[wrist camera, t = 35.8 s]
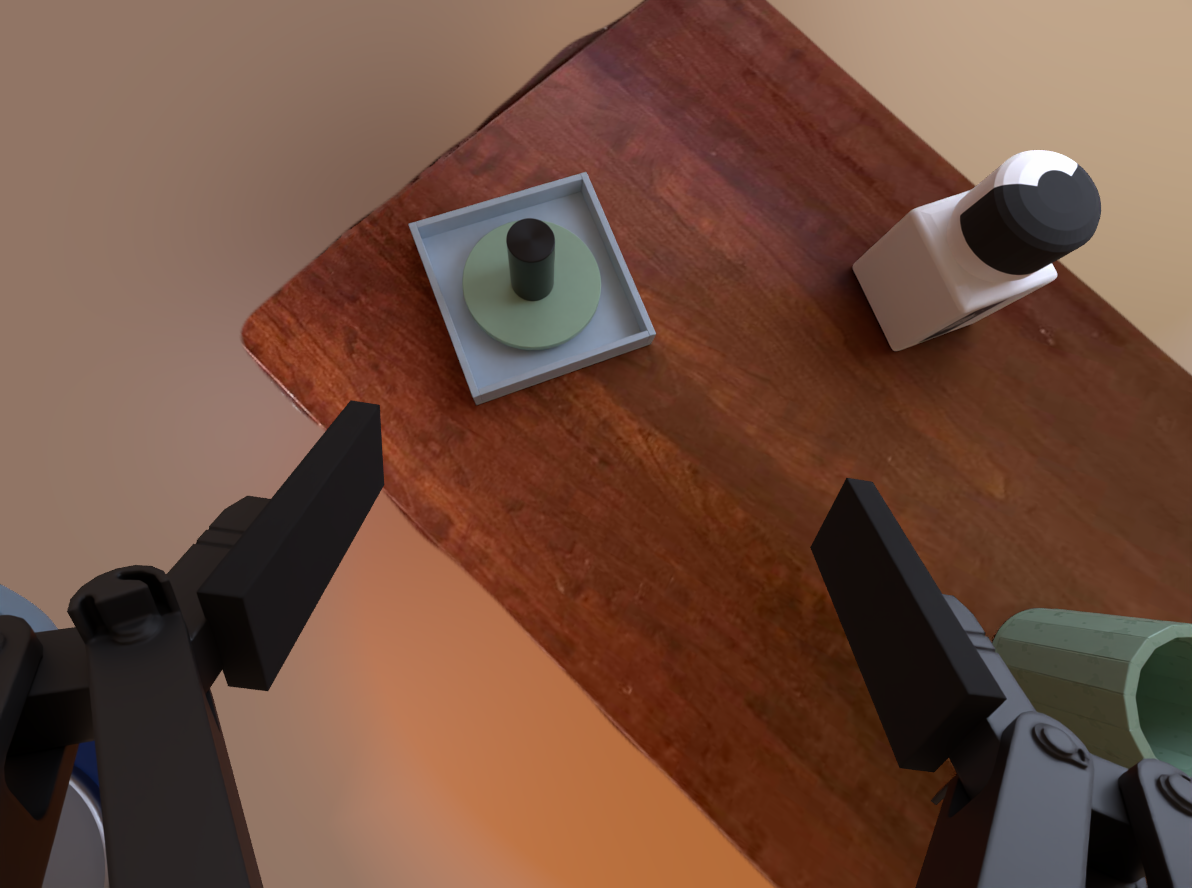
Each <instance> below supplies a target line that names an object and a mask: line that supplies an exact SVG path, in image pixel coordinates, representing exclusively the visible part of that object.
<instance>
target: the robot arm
mask: <svg viewBox="0 0 1192 888" xmlns="http://www.w3.org/2000/svg"><path fill="white" fill-rule="evenodd" d="M383 486H384V474H383V456H382V438H381V421H380V405H377V404H370V403H364V402H358V401H350V402H349V403H348V404H347V406H346V407H345V408H344V409H343V411H342V412H341V413H340V414H339V416H338V417H337V418H336V419H335V420H334V422H333V423H332V424H331V425H330V427H329V428H328V429H327V430H326V432H325V433H324V434H323V436H322V437H321V438H320V439H319V440H318V442H317V443H316V444H315V445H314V446H313V448H312V449H311V450H310V451H309V453H308V454H307V455H306V456H305V458H304V459H303V460H302V461H301V463H300V464H299V465H298V466H297V468H296V469H295V470H294V471H293V472H292V474H291V475H290V476H289V477H288V479H287V480H286V481H285V482H284V484H283V485H282V486H281V488H280V489H279V490H278V491H277V492H276V494H275V495H274V496H273V497H272V499H267V498H260V497H253V496H246V497H245V498H243V499H241V500H239V501H238V502H236V503H234V504H233V505H231V506H229V507H228V508H226V509H225V510H224V511H223V512H222V513H221V514H220V515H219V516H218V517H217V518H216V519H215V521H214V522H213V523H212V524H211V525H210V526H209V530H206V531H205V532H204V533H203V534H202V535H201V536H200V537H199V538H198V540H197V543H196V544H193V545H192V546H191V547H190V548H189V550H188V551H187V552H186V553H185V554H184V555H183V556H182V557H181V559H180V560H179V561H178V562H177V563H176V564H175V566H173V568H172V569H171V570H170V571H169V572H168V573H167V574H165V573H164V571H162V570H160V569H157V568H155V567H153V566H142V565H133V566H128V567H123V568H117V569H115V570H112V571H109V572H107V573H104V574H102V575H99V576H97V577H95V578H94V579H92V580H91V581H89V582H88V583H86V584H85V585H84V586H82V587H81V588H80V589H79V590H78V591H77V592H76V594H75V595H74V596H73V597H72V598H71V599H70V603H69V607H68V611H67V612H68V614H69V616H70V618H71V619H72V621H73V623H74V625H75V627H74V628H66V629H57V627H56V626H55V624H54V623H53V622H52V621H51V619H50V618H49V617H48V616H47V615H46V614H45V613H44V612H43V611H41V610H40V609H39V608H38V607H37V606H35V605H34V604H33V603H31V602H29V601H28V600H27V599H25V598H24V597H22V596H20V595H19V594H17V593H16V592H14V591H12V590H10V589H8V588H7V587H5V586H3V585H1V584H0V888H263V885H262V881H261V877H260V874H259V870H258V866H257V862H256V858H255V855H254V851H253V847H252V843H251V839H250V835H249V832H248V828H247V824H246V820H245V817H244V813H243V809H242V805H241V801H240V798H239V794H238V790H237V786H236V783H235V779H234V775H233V771H232V767H231V764H230V760H229V757H228V752H227V748H226V745H225V741H224V738H223V734H222V730H221V726H220V722H219V718H218V714H217V711H216V707H215V703H214V699H213V696H212V693H211V690H210V687H211V686H212V684H213V683H214V681H215V680H216V678H217V676H218V675H219V674H220V672H221V671H222V670H223V672H224V675H225V678H226V681H227V684H228V686H230V687H239V688H247V689H255V690H263V691H268V690H269V689H270V687H271V685H272V683H273V681H274V680H275V678H276V676H277V674H278V673H279V671H280V669H281V667H282V666H283V664H284V662H285V660H286V658H287V657H288V655H289V653H290V651H291V649H292V648H293V646H294V644H295V642H296V641H297V639H298V637H299V635H300V633H301V632H302V630H303V628H304V626H305V625H306V623H307V621H308V619H309V617H310V616H311V613H312V612H313V610H314V609H315V607H316V605H317V603H318V601H319V600H320V598H321V596H322V594H323V592H324V590H325V589H326V587H327V585H328V584H329V582H330V580H331V578H332V576H333V575H334V573H335V571H336V569H337V568H338V566H339V564H340V562H341V560H342V559H343V557H344V555H345V553H346V552H347V550H348V548H349V546H350V545H351V543H352V541H353V539H354V537H355V536H356V534H357V532H358V530H359V529H360V527H361V525H362V523H363V521H364V520H365V518H366V516H367V514H368V513H369V511H370V509H371V507H372V505H373V504H374V502H375V500H376V498H377V497H378V495H379V493H380V491H381V489H382V488H383ZM810 548H811V550H812V553H813V555H814V557H815V560H816V562H817V565H818V567H819V570H820V572H821V575H822V577H823V580H824V582H825V585H826V587H827V590H828V592H829V594H830V597H831V599H832V602H833V604H834V607H835V609H836V612H837V614H838V617H839V619H840V622H841V624H842V627H843V629H844V631H845V634H846V636H847V639H848V641H849V644H850V646H851V649H852V651H853V654H854V656H855V659H856V661H857V664H858V666H859V668H860V671H861V673H862V676H863V678H864V681H865V683H866V686H867V688H868V691H869V693H870V696H871V698H872V701H873V703H874V705H875V708H876V710H877V713H878V715H879V718H880V720H881V723H882V725H883V728H884V730H885V733H886V735H887V738H888V740H889V742H890V745H891V747H892V750H893V752H894V755H895V757H896V760H897V762H898V765H899V767H900V768H903V769H912V770H920V771H928V772H935V771H936V770H937V769H938V768H939V767H940V766H941V765H942V764H943V763H944V762H945V761H946V760H947V759H948V758H950V760H951V762H952V764H953V766H954V768H955V770H956V772H957V775H956V776H955V777H954V778H952V779H951V780H950V781H949V782H948V783H947V784H946V785H945V786H944V787H943V788H942V789H941V790H940V791H939V792H938V793H937V794H936V795H935V796H934V797H933V799H932V800H931V801H932V802H933V803H934V804H936V805H937V804H938V803H939V802H940V801H941V800H942V799H944V801H943V804H942V807H941V810H940V813H939V816H938V819H937V822H936V825H935V829H934V832H933V835H932V838H931V841H930V844H929V847H928V850H927V854H926V857H925V860H924V863H923V866H922V869H921V872H920V875H919V878H918V882H917V885H916V888H1192V778H1191V777H1190V776H1188V775H1187V774H1186V773H1184V772H1183V771H1181V770H1179V769H1178V768H1176V767H1174V766H1172V765H1171V764H1169V763H1166V762H1163V761H1160V760H1158V759H1155V758H1146V759H1142V760H1141V761H1139V762H1138V763H1137V764H1135V765H1134V766H1132V767H1131V768H1130V769H1127V768H1125V767H1122V766H1120V765H1118V764H1115V763H1113V762H1110V761H1108V760H1105V759H1103V758H1101V757H1098V756H1096V755H1093V754H1091V753H1089V751H1088V750H1087V748H1086V746H1085V745H1084V744H1083V743H1082V741H1081V740H1080V739H1079V738H1078V737H1077V736H1076V735H1075V734H1074V733H1073V732H1072V731H1071V730H1070V729H1068V728H1067V727H1066V726H1064V725H1063V724H1062V723H1060V722H1059V721H1057V720H1055V719H1053V718H1052V717H1050V716H1048V715H1046V714H1043V713H1039V712H1037V711H1036V710H1035V708H1034V707H1033V705H1032V704H1031V702H1030V701H1029V699H1028V698H1027V696H1026V695H1025V693H1024V692H1023V690H1022V689H1021V687H1020V686H1019V684H1018V683H1017V681H1016V679H1015V678H1014V676H1013V675H1012V673H1011V672H1010V670H1009V669H1008V667H1007V666H1006V664H1005V663H1004V661H1003V660H1002V658H1001V657H1000V655H999V653H996V652H995V647H994V646H993V644H992V643H991V641H990V640H989V638H988V637H985V632H984V631H983V629H982V627H981V626H980V624H979V623H978V621H977V620H976V618H975V617H974V615H973V614H972V613H971V612H970V611H969V610H968V609H967V608H966V607H965V606H964V605H963V604H962V603H961V602H960V601H958V600H957V599H956V598H955V597H954V596H951V595H945V594H942V593H941V592H940V590H939V588H938V587H937V585H936V583H935V582H934V580H933V579H932V577H931V575H930V574H929V572H928V571H927V569H926V567H925V566H924V564H923V563H922V561H921V559H920V558H919V556H918V554H917V553H916V551H915V550H914V548H913V546H912V545H911V543H910V542H909V540H908V538H907V537H906V535H905V534H904V532H903V530H902V529H901V527H900V525H899V524H898V522H897V521H896V519H895V517H894V516H893V514H892V513H891V511H890V509H889V508H888V506H887V505H886V503H885V501H884V500H883V498H882V496H881V495H880V493H879V492H878V490H877V488H876V487H875V485H874V484H873V482H870V481H864V480H857V479H851V478H846V480H845V482H844V484H843V486H842V488H841V490H840V492H839V494H838V496H837V497H836V499H835V501H834V503H833V505H832V507H831V509H830V511H829V513H828V515H827V517H826V519H825V520H824V522H823V524H822V526H821V528H820V530H819V532H818V534H817V536H816V538H815V540H814V542H813V543H812V545H811V547H810ZM90 741H95V750H96V759H97V769H98V779H99V787H98V785H97V784H96V783H95V782H94V781H93V780H92V779H91V778H90V777H89V776H88V775H87V774H86V773H84V772H83V771H82V770H81V769H79V768H78V767H76V766H75V765H74V762H75V758H76V754H77V751H78V747H79V743H84V742H90ZM1145 876H1146V879H1147V884H1146V880H1145ZM1147 885H1148V887H1147Z"/></svg>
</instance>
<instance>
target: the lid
mask: <svg viewBox="0 0 1192 888" xmlns="http://www.w3.org/2000/svg"><path fill="white" fill-rule="evenodd" d="M462 287H463V294H464V298H465V301H466V304H467V307H468V309H469V312H470V314H471V316H472V317H473V319H474V320H475V322H476V323H477V324H478V325H479V326H480V328H481V329H482V330H483V331H485V332H486V333H487V334H488V335H489V336H491V337H492V338H494V339H495V340H497V341H499V342H501V343H503V344H505V345H508V346H511V347H514V348H518V349H524V350H543V349H549V348H553V347H556V346H559V345H562V344H564V343H566V342H568V341H570V340H571V339H573V338H574V337H576V336H577V335H578V334H579V333H581V332H582V331H583V330H584V329H585V328H586V326H587V325H588V324H589V322H590V321H591V320H592V318H593V316H594V314H595V312H596V309H597V307H598V303H599V299H600V294H601V277H600V272H599V268H598V265H597V262H596V260H595V258H594V256H593V254H592V253H591V251H590V250H589V248H588V247H587V246H586V245H585V244H584V242H583V241H582V240H581V239H579V238H578V237H577V236H576V235H575V234H573V233H572V232H570V231H569V230H567V229H565V228H563V227H561V226H559V225H556V224H554V223H550V222H546V221H541V220H538V219H534V218H525V219H522V220H519V221H514V222H510V223H507V224H504V225H501V226H499V227H497V228H495V229H493V230H492V231H490V232H489V233H487V234H486V235H485V236H484V237H483V238H482V239H480V240H479V241H478V243H477V244H476V245H475V246H474V248H473V249H472V251H471V252H470V254H469V256H468V258H467V261H466V263H465V267H464V270H463V278H462Z"/></svg>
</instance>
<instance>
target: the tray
mask: <svg viewBox="0 0 1192 888" xmlns="http://www.w3.org/2000/svg"><path fill="white" fill-rule="evenodd" d="M525 218H534V219H538V220H541V221H546V222H550V223H554V224H556V225H559V226H561V227H563V228H565V229H567V230H569V231H570V232H572V233H573V234H575V235H576V236H577V237H578V238H579V239H581V240H582V241H583V242H584V244H585V245H586V246H587V247H588V248H589V250H590V251H591V253H592V254H593V256H594V258H595V260H596V262H597V265H598V268H599V272H600V277H601V294H600V299H599V303H598V307H597V309H596V312H595V314H594V316H593V318H592V320H591V321H590V322H589V324H588V325H587V326H586V328H585V329H584V330H583V331H582V332H581V333H579V334H578V335H577V336H576V337H574V338H573V339H571V340H570V341H568V342H566V343H564V344H562V345H559V346H556V347H553V348H549V349H543V350H524V349H518V348H514V347H511V346H508V345H505V344H503V343H501V342H499V341H497V340H495V339H494V338H492V337H491V336H489V335H488V334H487V333H486V332H485V331H483V330H482V329H481V328H480V326H479V325H478V324H477V323H476V322H475V320H474V319H473V317H472V316H471V314H470V312H469V309H468V307H467V304H466V301H465V298H464V294H463V287H462V278H463V270H464V267H465V263H466V261H467V258H468V256H469V254H470V252H471V251H472V249H473V248H474V246H475V245H476V244H477V243H478V241H479V240H480V239H482V238H483V237H484V236H485V235H486V234H487V233H489V232H490V231H492V230H493V229H495V228H497V227H499V226H501V225H504V224H507V223H510V222H514V221H519V220H522V219H525ZM409 228H410V230H411V233H412V236H413V238H414V241H415V244H416V246H417V249H418V252H419V254H420V257H421V260H422V262H423V265H424V268H425V271H426V273H427V276H428V279H429V281H430V284H431V287H432V289H433V292H434V295H435V297H436V300H437V303H438V305H439V308H440V311H441V314H442V316H443V319H444V322H445V324H446V327H447V330H448V332H449V335H450V338H451V340H452V343H453V346H454V348H455V351H456V354H457V357H458V359H459V362H460V365H461V367H462V370H463V373H464V375H465V378H466V381H467V383H468V386H469V389H470V392H471V394H472V397H473V399H474V401H475V404H476V405H479V404H482V403H484V402H487V401H490V400H493V399H496V398H499V397H502V396H504V395H507V394H510V393H513V392H516V391H519V390H521V389H524V388H527V387H530V386H533V385H536V384H539V383H541V382H544V381H547V380H550V379H553V378H556V377H558V376H561V375H564V374H567V373H570V372H573V371H576V370H578V369H581V368H584V367H587V366H590V365H593V364H595V363H598V362H601V361H604V360H607V359H610V358H613V357H615V356H618V355H621V354H624V353H627V352H630V351H632V350H635V349H638V348H641V347H644V346H647V345H649V344H651V343H652V341H653V339H654V337H655V335H656V333H655V330H654V328H653V326H652V323H651V321H650V319H649V316H648V314H647V312H646V309H645V307H644V305H643V302H642V300H641V298H640V295H639V293H638V291H637V289H636V286H635V284H634V282H633V279H632V277H631V275H630V272H629V270H628V268H627V265H626V263H625V261H624V258H623V256H622V254H621V251H620V249H619V247H618V244H617V242H616V240H615V237H614V235H613V233H612V230H611V228H610V226H609V223H608V221H607V219H606V217H605V214H604V212H603V210H602V207H601V205H600V203H599V200H598V198H597V196H596V193H595V191H594V189H593V186H592V184H591V182H590V179H589V177H588V175H587V172H584V173H581V174H577V175H573V176H570V177H567V178H563V179H560V180H556V181H553V182H550V183H546V184H543V185H539V186H536V187H533V188H529V189H526V190H522V191H519V192H516V193H512V194H509V195H505V196H502V197H499V198H495V199H492V200H488V201H485V202H482V203H478V204H475V205H471V206H468V207H464V208H461V209H458V210H454V211H451V212H447V213H444V214H441V215H437V216H434V217H430V218H427V219H424V220H420V221H417V222H416V223H415V222H413V223H410V224H409Z"/></svg>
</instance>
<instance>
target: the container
mask: <svg viewBox="0 0 1192 888" xmlns="http://www.w3.org/2000/svg"><path fill="white" fill-rule="evenodd" d="M1100 215H1101V202H1100V197H1099V193H1098V190H1097V188H1096V186H1095V184H1094V182H1093V181H1092V179H1091V178H1090V176H1089V175H1088V174H1087V173H1086V171H1085V170H1084V169H1083V168H1082V167H1081V166H1079V165H1078V164H1077V163H1076V162H1074V161H1073V160H1071V159H1069V158H1068V157H1066V156H1064V155H1061V154H1059V153H1056V152H1052V151H1046V150H1032V151H1025V152H1021V153H1018V154H1016V155H1014V156H1012V157H1011V158H1009V159H1008V160H1006V161H1005V162H1004V163H1003V164H1002V165H1001V166H999V167H998V168H997V169H996V170H995V171H993V172H992V173H991V174H990V175H989V176H987V177H986V178H985V179H984V180H983V181H982V182H980V183H979V184H978V185H977V186H976V187H974V188H973V189H972V190H970V191H966V192H963V193H960V194H957V195H954V196H951V197H948V198H945V199H942V200H939V201H936V202H933V203H930V204H927V205H924V206H921V207H918V208H915V209H913V210H911V211H910V212H909V213H908V214H907V215H906V216H905V217H904V218H903V219H902V220H900V221H899V222H898V223H897V224H896V225H895V226H894V227H893V228H892V229H891V230H890V231H889V232H887V233H886V234H885V235H884V236H883V237H882V238H881V239H880V240H879V241H878V242H877V243H876V244H875V245H873V246H872V247H871V248H870V249H869V250H868V251H867V252H866V253H865V254H864V255H863V256H862V257H860V258H859V259H858V260H857V261H856V262H855V263H854V264H853V267H852V268H853V271H854V273H855V275H856V277H857V279H858V281H859V283H860V285H861V287H862V289H863V291H864V293H865V295H866V297H867V299H868V301H869V304H870V306H871V308H872V310H873V312H874V314H875V316H876V318H877V320H878V322H879V324H880V326H881V328H882V330H883V332H884V334H885V336H886V338H887V340H888V342H889V345H890V347H891V349H892V350H893V351H900V350H903V349H905V348H908V347H911V346H913V345H916V344H919V343H921V342H924V341H927V340H929V339H932V338H935V337H937V336H940V335H943V334H946V333H948V332H951V331H954V330H956V329H959V328H962V327H964V326H967V325H970V324H972V323H975V322H977V321H978V320H980V319H982V318H984V317H986V316H988V315H990V314H992V313H994V312H995V311H997V310H999V309H1001V308H1003V307H1005V306H1007V305H1009V304H1010V303H1012V302H1014V301H1016V300H1018V299H1020V298H1022V297H1024V296H1026V295H1027V294H1029V293H1031V292H1033V291H1035V290H1037V289H1039V288H1041V287H1042V286H1044V285H1046V284H1048V283H1050V282H1052V281H1053V280H1055V279H1056V278H1057V272H1056V270H1055V268H1054V266H1053V265H1052V263H1053V262H1055V261H1056V260H1058V259H1060V258H1062V257H1063V256H1065V255H1067V254H1069V253H1070V252H1072V251H1074V250H1076V249H1078V248H1079V247H1081V246H1082V245H1084V244H1085V243H1086V242H1087V241H1089V240H1090V238H1091V237H1092V236H1093V234H1094V233H1095V231H1096V228H1097V226H1098V222H1099V219H1100Z"/></svg>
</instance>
